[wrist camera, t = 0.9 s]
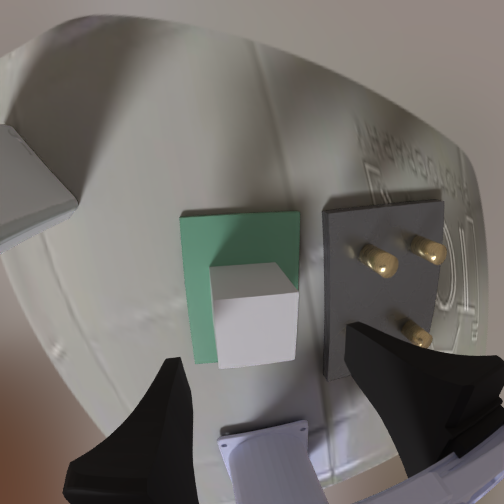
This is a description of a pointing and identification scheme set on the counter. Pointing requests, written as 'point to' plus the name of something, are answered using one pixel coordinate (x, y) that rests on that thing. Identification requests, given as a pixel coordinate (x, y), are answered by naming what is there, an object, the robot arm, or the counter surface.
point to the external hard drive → (28, 192)
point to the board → (228, 250)
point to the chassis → (380, 273)
